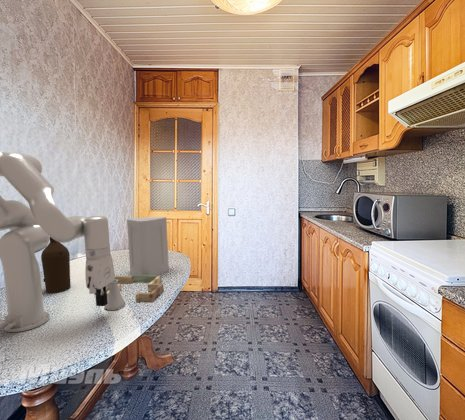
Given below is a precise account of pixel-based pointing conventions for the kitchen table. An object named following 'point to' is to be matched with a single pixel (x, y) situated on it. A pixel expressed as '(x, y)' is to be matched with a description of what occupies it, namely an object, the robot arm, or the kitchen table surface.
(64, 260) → the olive oil
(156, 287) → the zigzag wooden frame
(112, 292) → the flask
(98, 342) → the kitchen table surface
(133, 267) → the paper bag
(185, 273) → the kitchen table surface
